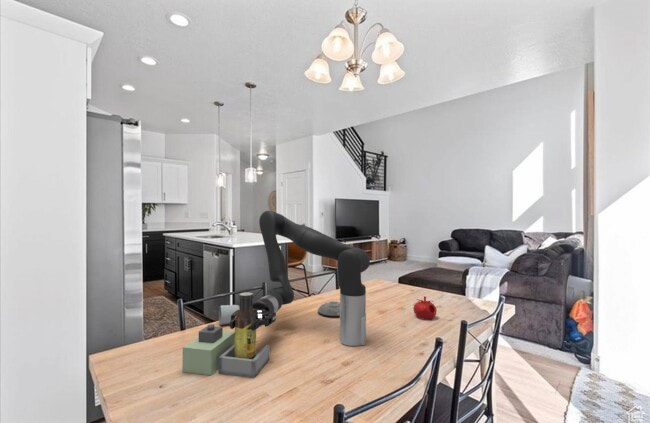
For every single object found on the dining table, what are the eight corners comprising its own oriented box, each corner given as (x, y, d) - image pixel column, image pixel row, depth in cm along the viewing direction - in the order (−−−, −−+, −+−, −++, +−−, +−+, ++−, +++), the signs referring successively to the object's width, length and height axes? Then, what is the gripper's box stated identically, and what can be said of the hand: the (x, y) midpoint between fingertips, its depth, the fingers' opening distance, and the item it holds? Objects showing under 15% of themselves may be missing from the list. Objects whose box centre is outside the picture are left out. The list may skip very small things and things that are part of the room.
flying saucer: (350, 309, 148) (350, 298, 148) (349, 319, 133) (349, 307, 133) (319, 307, 150) (320, 296, 150) (315, 318, 135) (315, 305, 135)
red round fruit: (412, 319, 133) (412, 298, 133) (414, 312, 143) (414, 293, 143) (436, 322, 130) (435, 300, 130) (437, 315, 139) (436, 294, 139)
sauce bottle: (250, 366, 87) (250, 297, 87) (230, 364, 88) (230, 296, 88) (259, 356, 93) (259, 291, 94) (241, 354, 95) (241, 290, 95)
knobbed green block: (271, 357, 97) (271, 321, 97) (252, 380, 83) (252, 339, 83) (210, 350, 101) (210, 316, 101) (182, 371, 87) (183, 332, 87)
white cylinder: (241, 324, 125) (241, 305, 125) (220, 327, 121) (220, 308, 122) (236, 317, 135) (236, 299, 135) (217, 319, 131) (217, 301, 131)
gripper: (245, 296, 106) (219, 311, 90) (284, 299, 104) (265, 315, 87) (245, 318, 106) (219, 337, 90) (284, 321, 104) (264, 341, 87)
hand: (241, 326), depth 89 cm, fingers closed on sauce bottle, 6 cm apart
